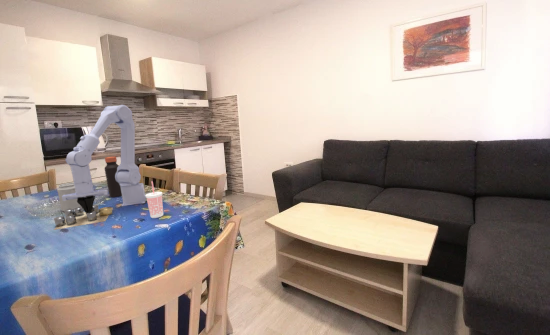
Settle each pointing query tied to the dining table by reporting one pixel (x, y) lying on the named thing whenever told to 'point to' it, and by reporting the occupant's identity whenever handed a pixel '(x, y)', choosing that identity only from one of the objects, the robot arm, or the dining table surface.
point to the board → (84, 221)
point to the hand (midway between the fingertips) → (89, 214)
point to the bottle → (112, 177)
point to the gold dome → (105, 211)
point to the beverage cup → (155, 203)
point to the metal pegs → (73, 213)
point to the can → (65, 190)
